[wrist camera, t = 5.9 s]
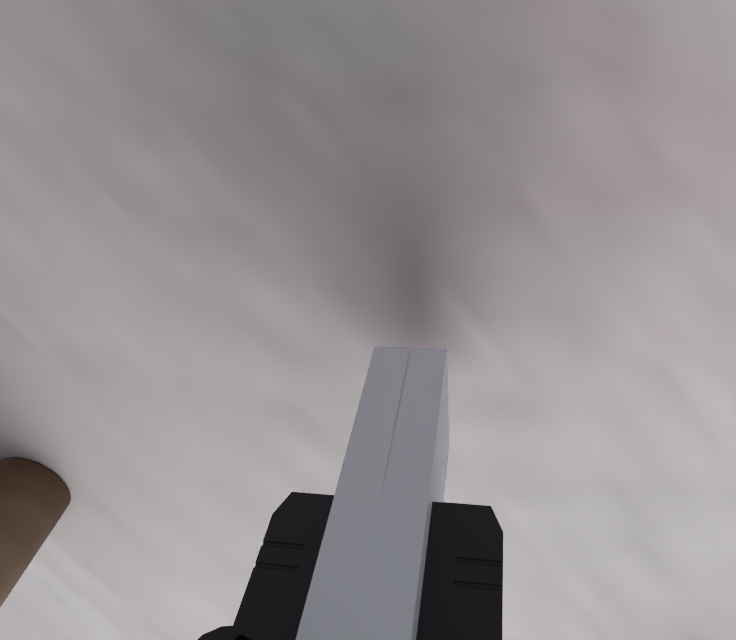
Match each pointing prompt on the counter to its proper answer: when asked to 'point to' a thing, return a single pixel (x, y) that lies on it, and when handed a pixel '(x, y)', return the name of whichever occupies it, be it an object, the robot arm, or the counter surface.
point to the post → (26, 515)
